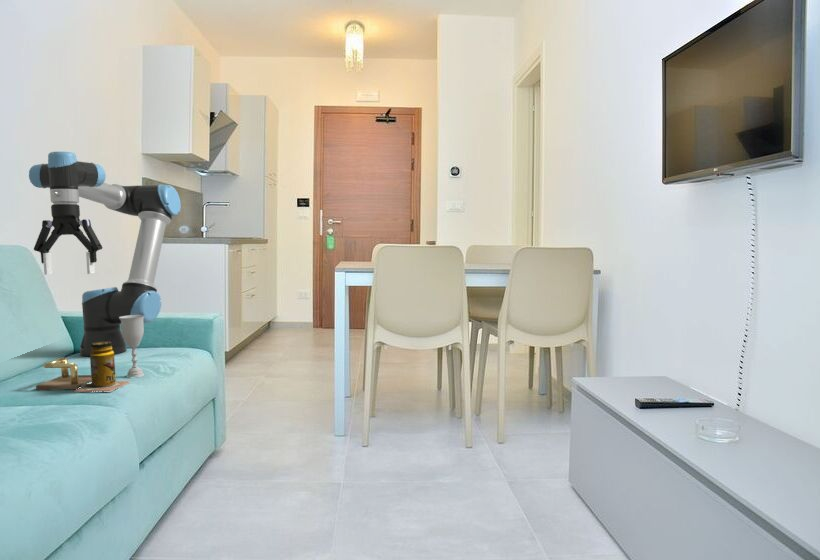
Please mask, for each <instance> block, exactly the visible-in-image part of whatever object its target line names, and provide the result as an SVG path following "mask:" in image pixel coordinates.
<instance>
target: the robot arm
mask: <svg viewBox="0 0 820 560" xmlns="http://www.w3.org/2000/svg"><path fill="white" fill-rule="evenodd" d="M28 171H29V172H28V179H29V181H30V183H31V184H32V185H33V187H36V188H38V189H49V193H50V202H51V203H53V204H51V205H50V211H51V217H52V220H47V219H45V220H42V222H41V229H40V232H39V234H38V236H37V239H36V241H35V245H34V247H33V251H34V252H38V253H40V259H41V261H40V262H41V264H43V271H44V275H45V276H46V275H53V274H54V273H53V261H52V252H50V250H51V249H52V247H53V246H54V244H55V243H56V242H57V241H58V239H59V238H60V237H61V236H62V235H63V236H65V235H66V236H69V235H73V236H75V237H76V238H77V240H78V241H79V242H80V243H81V244H82V246H84V247H85V249H86V250H87V251H86V253H85V257H86V259H85V260H86V270H87V275H90V274H91V275H92V274H96V268H95V263H97V261H98V259H97V252H98V251H100V250H102V249H103V245H102V244H101V242H100V240H99V238H98V237H97V235H96V233H95V231H94V229H93V227H92V224H91V220H90V219H87V218H85V219H82V220H81V219H80V216H81V212H80V205H79V203H80V198H81V199H84V200H85V199H86V200H88V201H92V202H96V203H99V204H101V205H104V207H105V208H106V209H109V210H110V211H111V210H112V211H114V212H117V213H121V214H124V215H128V216H132V217H133V216H134V217H138V219H139V220H140V221H141V222H140V226H139V230H138V233H137V238H136V243H135V249H134V252H133V257H132V262H131V266H130V270H129V274H128V280H126V281H124V282H123V283H122V285H121V289H120V290H119V288H118V287H117V286H114V287H113V286H112V287H106V288H101V289H93V290H87V291H84V292H83V294H81V296H82V297H81V300H82V301H81V306H82V307H81V308H82V318H83V319H82V321H83V335H82V340H81V344H80V347H79V354H80V356H82V357H90V354H91V352H92V351H91V344H92V343H96V342H111V343H112V351H113V352H114V355H116V354H121V353H124V352H126V351H127V343H126V341H125V340H124V338H123V335H122V331H121V320H120V319H119V317H121V316H128V315H145V317H144V319H143V323H144V324H145V325H146V324H151V323H152V322H153V321H154V320H156V319H157V317H159V314H160V313H161V312H160V311H161V309H162V301H161V300H162V299H161V296H160V294H159V293H158V289H157V287H156V286H155V284H154V283H155V279H156V274H157V269H158V266H159V265H158V264H159V260H160V255H161V250H162V245H163V240H164V235H165V231H166V227H167V226H168V225H170V224H171V222H172V218H173V217H176V216H178V215H179V214H180V213H181V209H182V203H181V198H180V195H179V193H178V190H176V189H175V187H174V186H172V185H170V184H161V183H160V184H150V185H149V184H148V185H147V184H146V185H120V184H118V183H114V184H109V183H107V182H105V181H106V178H107V177H106V171H105V169H104V168H103V167H102V166H101V165H100V164H97V163H93V162H87V161H78V159H77V155H76V154H75V152H71V151H51V152H49V153H48V155H47V163H39V164H33V165H32V166H31V167H30V168H29V170H28ZM80 227H82V229H83V230H81V228H80ZM52 228H53V229H52ZM51 229H52V231H51ZM83 231H84V232H83Z"/></svg>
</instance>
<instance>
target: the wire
mask: <svg viewBox="0 0 820 560" xmlns="http://www.w3.org/2000/svg"><path fill="white" fill-rule="evenodd" d="M68 361H69V360H68V358H66V357H65V356H63V357H60V358H56V359H54V360H51V361H48V362H45V363H43V368H45V369H60V370H61V371H60V372H61V376H62V378H66V377H69V375H71V384H72V385H74V384H78V375H79V371H78V364H76V363H75V362H68ZM69 372H70V373H69Z"/></svg>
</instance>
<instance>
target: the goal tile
mask: <svg viewBox="0 0 820 560" xmlns="http://www.w3.org/2000/svg"><path fill="white" fill-rule="evenodd" d="M115 382H116V383H119V384H120V385H117V386H112V387H106V388H99V389H94V390H86V389H84V388H83V387H81V388H79V389H77V390H73V391H74V393H75V392H92V391H93V392H94V391H95V392H96V391H98V392H99V391H102V392H104V391H112V390H114V389H116V388H118V387H121V386H123V385H125V386H127V385H129V384H130V380H129V381H128V380H127V381H125V380H124V381H121V380H120V381H119V380H118V381H117V380H116V381H115ZM126 384H127V385H126ZM123 387H124V386H123ZM121 388H122V387H121ZM112 392H113V391H112Z"/></svg>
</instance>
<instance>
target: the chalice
mask: <svg viewBox="0 0 820 560" xmlns="http://www.w3.org/2000/svg"><path fill="white" fill-rule="evenodd" d="M144 317H145V315H128V316H121V317H119V319H120V320H121V324H120V331H121V333H122V335H123V338H124V340H125V343H126V346H128V347H130V348H131V349H132V350H131V357H132V358H131V362H132V367H131V368H129V369H128V371H127V374H126V376H128V377H137V378H141V377H144V376H145V374H144V372H143V369H142V368H141V367H140V366H138V363H137V361H138V358H137V355H138V353H137V347H139V346H140V343H141V342H142V340H143V336H144V334H145V329H144V328H145V326H144V323H143V319H144Z"/></svg>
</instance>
